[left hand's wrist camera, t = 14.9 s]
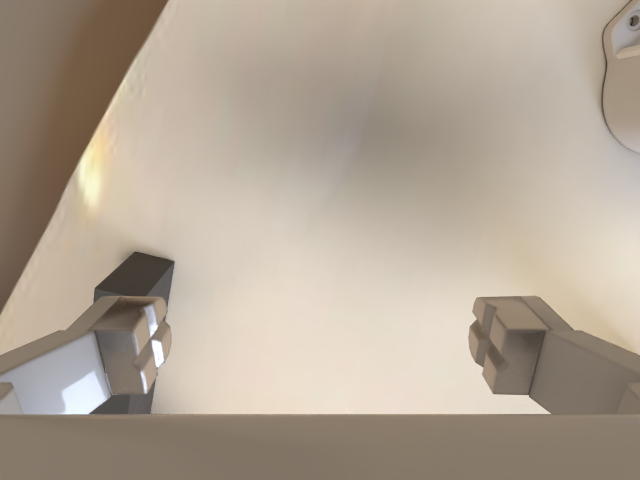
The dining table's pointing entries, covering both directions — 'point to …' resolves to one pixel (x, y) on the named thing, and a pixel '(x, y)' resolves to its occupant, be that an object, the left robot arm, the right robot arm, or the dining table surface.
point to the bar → (145, 281)
